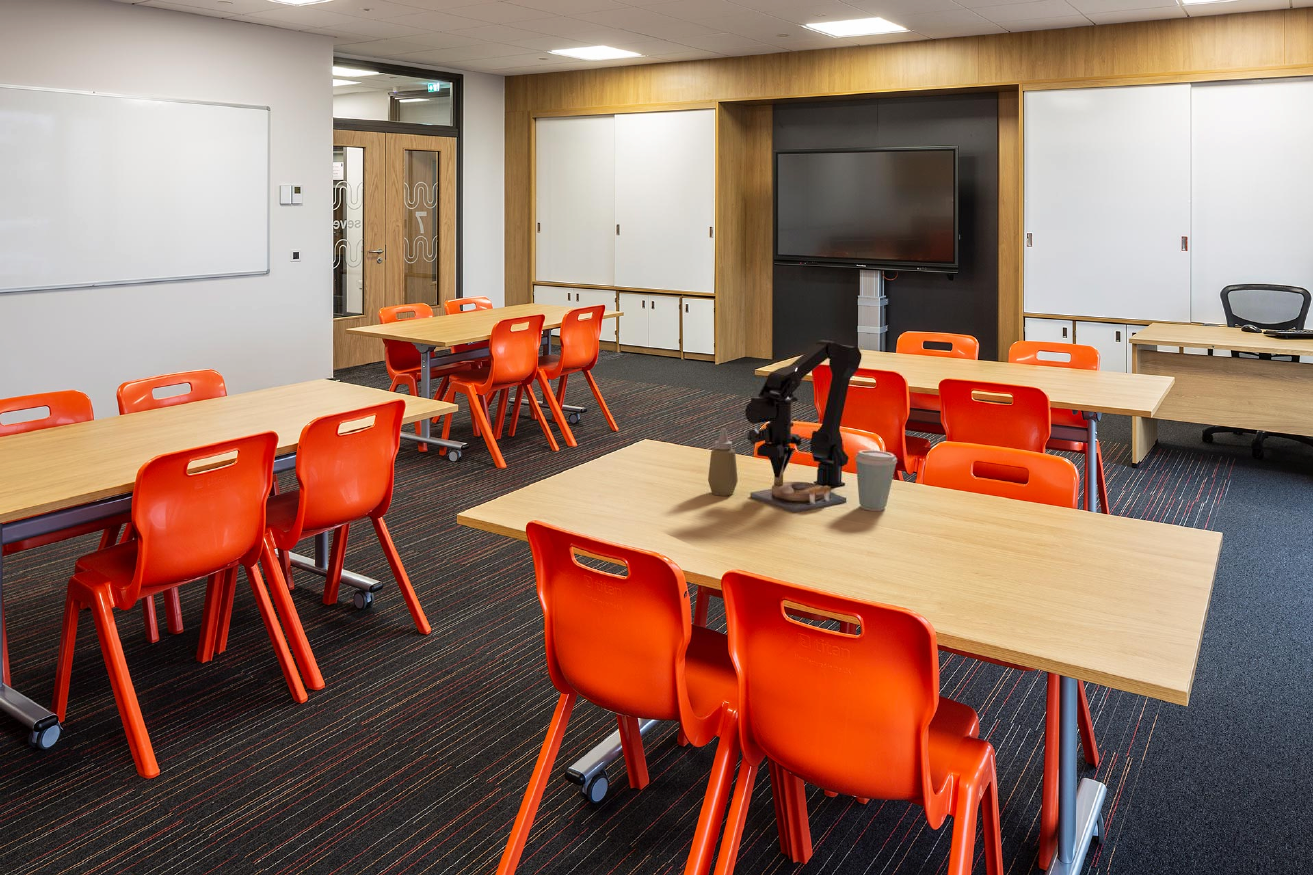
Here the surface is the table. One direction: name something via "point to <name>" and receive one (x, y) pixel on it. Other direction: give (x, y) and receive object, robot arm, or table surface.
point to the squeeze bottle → (723, 467)
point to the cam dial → (793, 489)
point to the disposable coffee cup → (874, 478)
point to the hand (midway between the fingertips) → (778, 476)
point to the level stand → (800, 505)
